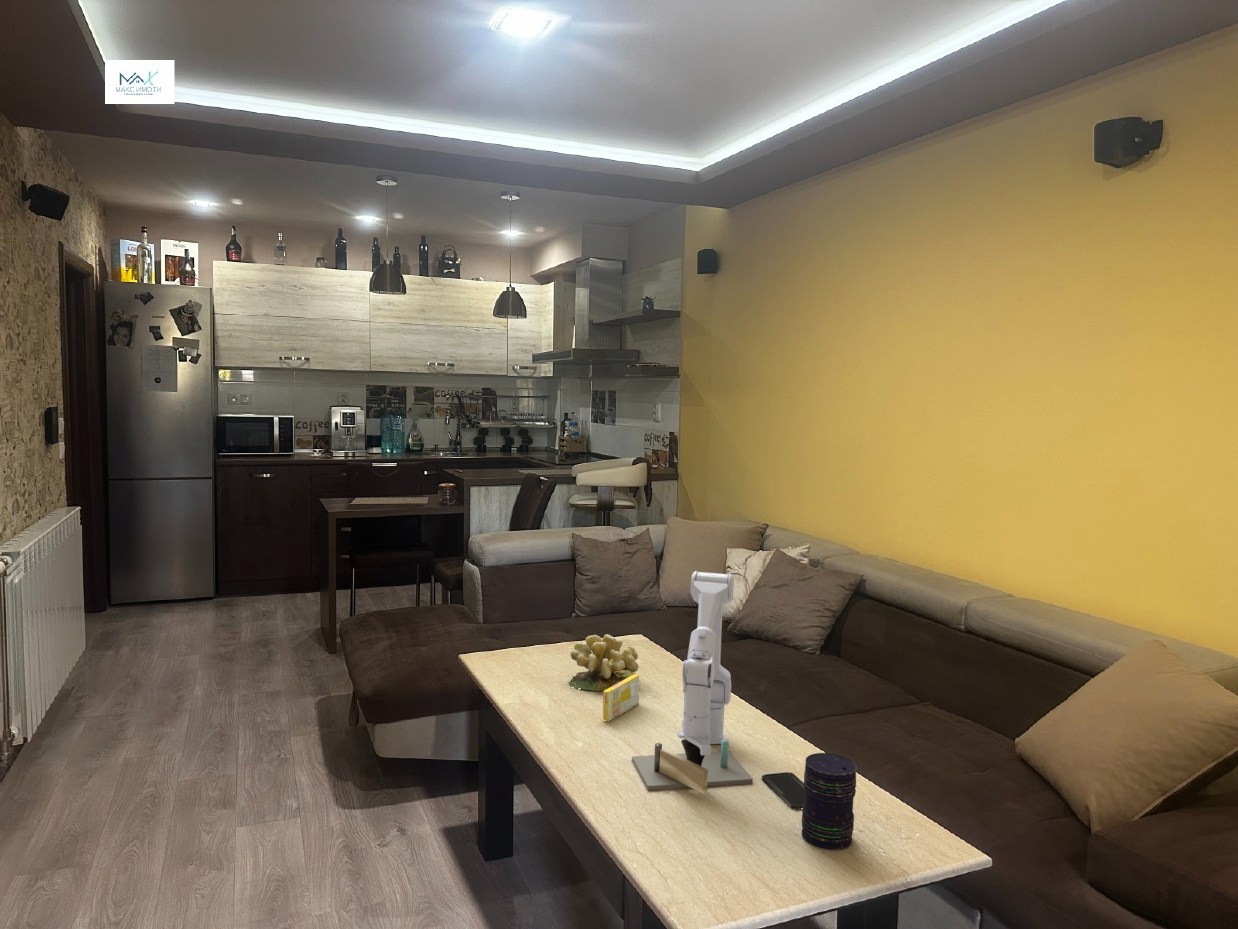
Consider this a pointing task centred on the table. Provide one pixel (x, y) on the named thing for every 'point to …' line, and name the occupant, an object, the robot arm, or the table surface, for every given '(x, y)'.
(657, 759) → the hinge post
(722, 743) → the latch post
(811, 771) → the storage jar
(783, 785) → the phone
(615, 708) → the candy box
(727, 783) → the gate board
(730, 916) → the table surface
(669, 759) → the gate
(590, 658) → the coral
